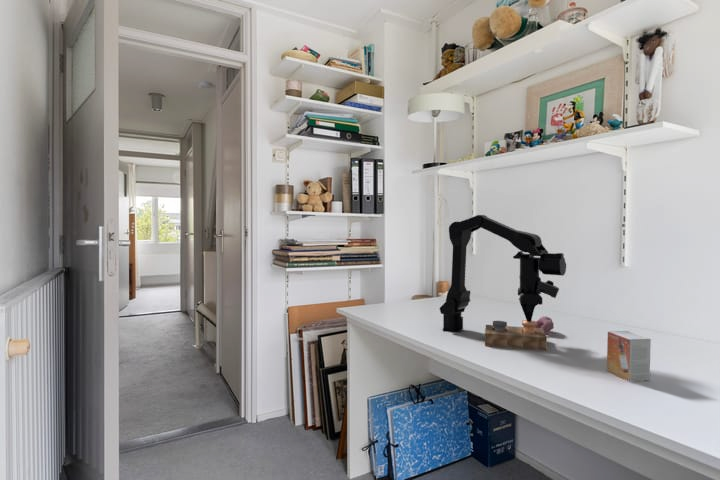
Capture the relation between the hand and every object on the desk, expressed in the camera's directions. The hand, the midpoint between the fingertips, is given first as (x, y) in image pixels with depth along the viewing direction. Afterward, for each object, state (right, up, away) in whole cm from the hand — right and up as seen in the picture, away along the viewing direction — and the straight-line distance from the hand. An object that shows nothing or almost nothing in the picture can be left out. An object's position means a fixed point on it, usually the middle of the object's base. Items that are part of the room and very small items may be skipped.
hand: (529, 321), depth 132 cm
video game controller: (+11, -7, +14) cm, 19 cm away
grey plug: (-8, -7, +3) cm, 11 cm away
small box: (+13, -8, -29) cm, 32 cm away
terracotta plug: (0, -6, 0) cm, 6 cm away
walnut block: (-4, -7, +2) cm, 8 cm away
